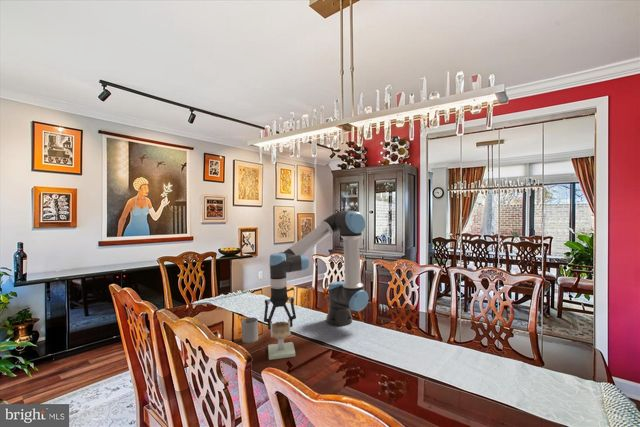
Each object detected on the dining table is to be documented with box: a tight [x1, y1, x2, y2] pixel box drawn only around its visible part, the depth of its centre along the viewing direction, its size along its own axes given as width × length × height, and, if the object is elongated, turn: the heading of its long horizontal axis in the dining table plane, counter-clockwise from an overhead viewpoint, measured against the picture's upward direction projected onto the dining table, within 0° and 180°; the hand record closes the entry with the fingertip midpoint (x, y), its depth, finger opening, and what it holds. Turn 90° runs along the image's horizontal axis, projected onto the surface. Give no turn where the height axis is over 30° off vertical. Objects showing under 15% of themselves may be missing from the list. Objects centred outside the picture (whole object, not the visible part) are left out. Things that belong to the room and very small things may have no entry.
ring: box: [272, 321, 290, 340], centre depth 144 cm, size 8×8×5 cm
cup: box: [240, 316, 259, 344], centre depth 160 cm, size 8×8×10 cm
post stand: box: [267, 338, 296, 361], centre depth 144 cm, size 12×12×8 cm
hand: (280, 334), depth 144 cm, fingers closed on ring, 8 cm apart
